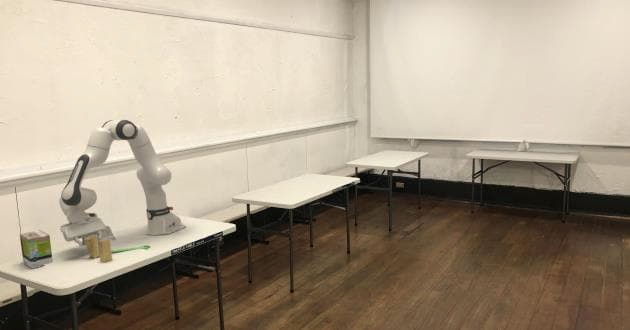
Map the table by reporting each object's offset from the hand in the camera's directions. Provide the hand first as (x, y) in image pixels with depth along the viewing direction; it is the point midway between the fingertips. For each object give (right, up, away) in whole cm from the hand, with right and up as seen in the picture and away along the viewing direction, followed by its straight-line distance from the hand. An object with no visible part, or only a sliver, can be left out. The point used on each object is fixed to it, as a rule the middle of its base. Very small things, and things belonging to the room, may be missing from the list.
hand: (91, 242), depth 253 cm
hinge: (-8, -4, +26) cm, 28 cm away
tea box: (-25, -10, -3) cm, 27 cm away
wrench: (+14, -6, +7) cm, 17 cm away
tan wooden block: (+10, -8, -7) cm, 14 cm away
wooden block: (+2, -7, -1) cm, 7 cm away
